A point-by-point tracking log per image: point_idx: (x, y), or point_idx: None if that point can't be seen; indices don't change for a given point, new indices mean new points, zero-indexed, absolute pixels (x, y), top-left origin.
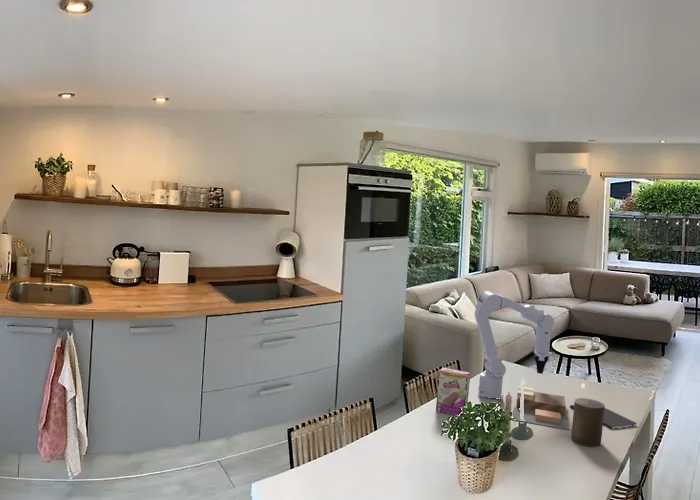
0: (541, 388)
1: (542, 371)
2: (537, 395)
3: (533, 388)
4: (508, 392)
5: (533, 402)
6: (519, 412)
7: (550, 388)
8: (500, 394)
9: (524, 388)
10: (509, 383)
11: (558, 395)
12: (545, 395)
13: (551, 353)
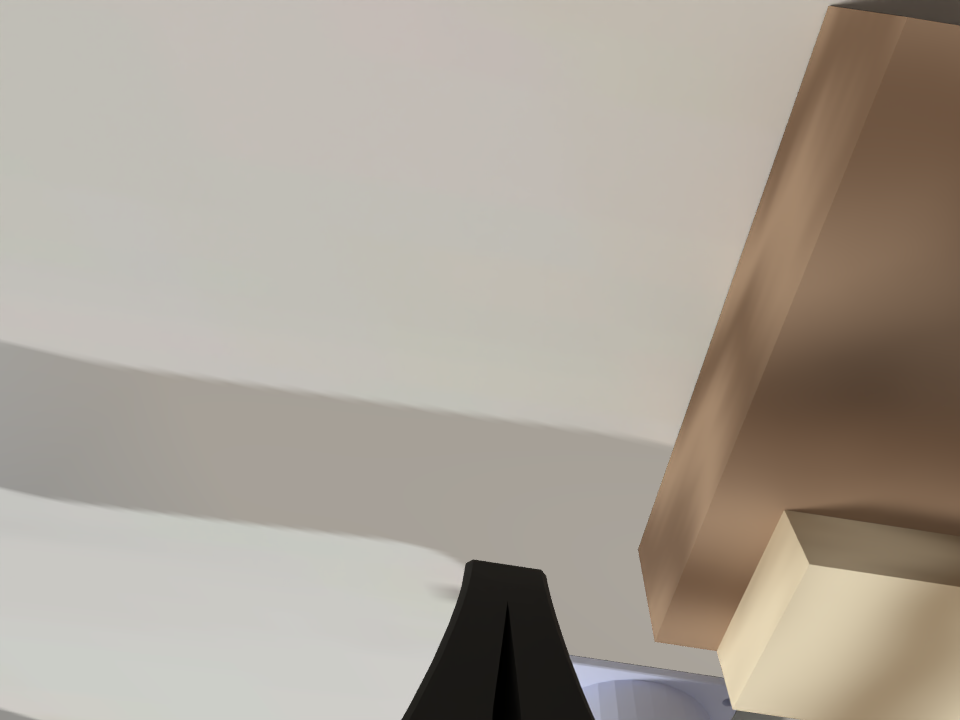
0: (110, 224)
1: (550, 621)
2: (886, 475)
3: (816, 567)
4: None
5: None
6: None
7: (18, 78)
8: (687, 716)
9: (833, 666)
10: (153, 555)
11: (857, 139)
12: (876, 367)
13: None
